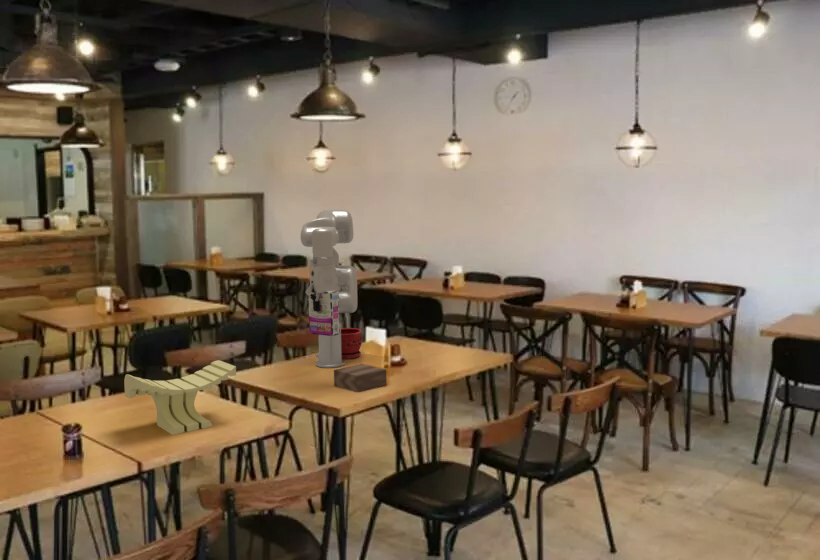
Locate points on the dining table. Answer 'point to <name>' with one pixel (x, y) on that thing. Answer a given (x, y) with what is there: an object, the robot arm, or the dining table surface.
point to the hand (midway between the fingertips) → (324, 309)
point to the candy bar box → (325, 315)
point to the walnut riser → (360, 377)
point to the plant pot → (350, 342)
